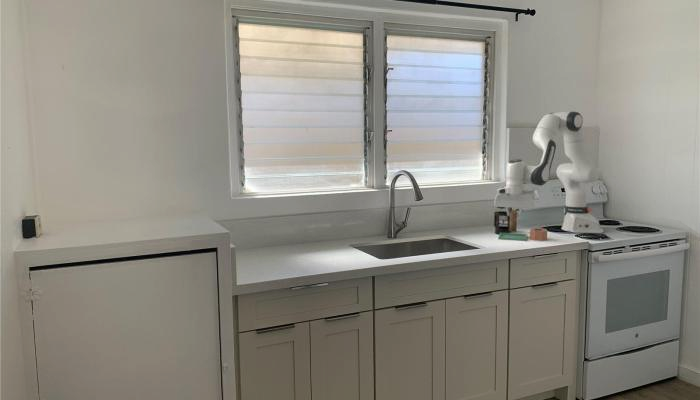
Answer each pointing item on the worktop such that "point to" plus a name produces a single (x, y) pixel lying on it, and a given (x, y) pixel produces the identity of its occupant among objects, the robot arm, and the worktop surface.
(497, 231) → the french press
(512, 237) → the tray
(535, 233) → the cup
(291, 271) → the worktop surface
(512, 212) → the dowel
